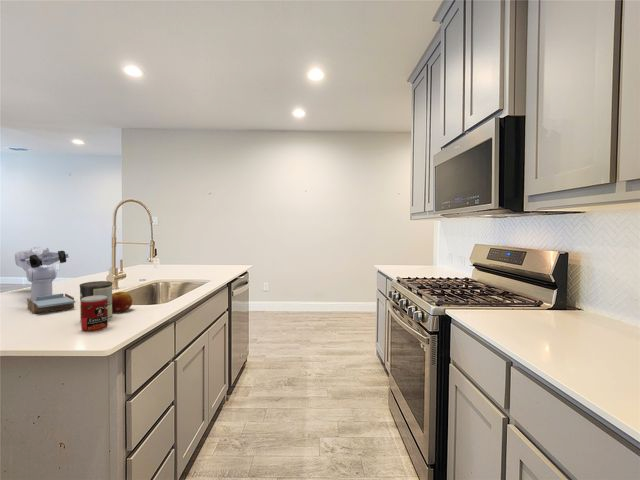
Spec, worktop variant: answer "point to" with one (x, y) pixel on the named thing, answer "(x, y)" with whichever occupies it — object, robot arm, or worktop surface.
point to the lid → (52, 300)
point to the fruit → (121, 301)
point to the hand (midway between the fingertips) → (52, 261)
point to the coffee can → (97, 292)
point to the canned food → (94, 313)
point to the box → (37, 310)
